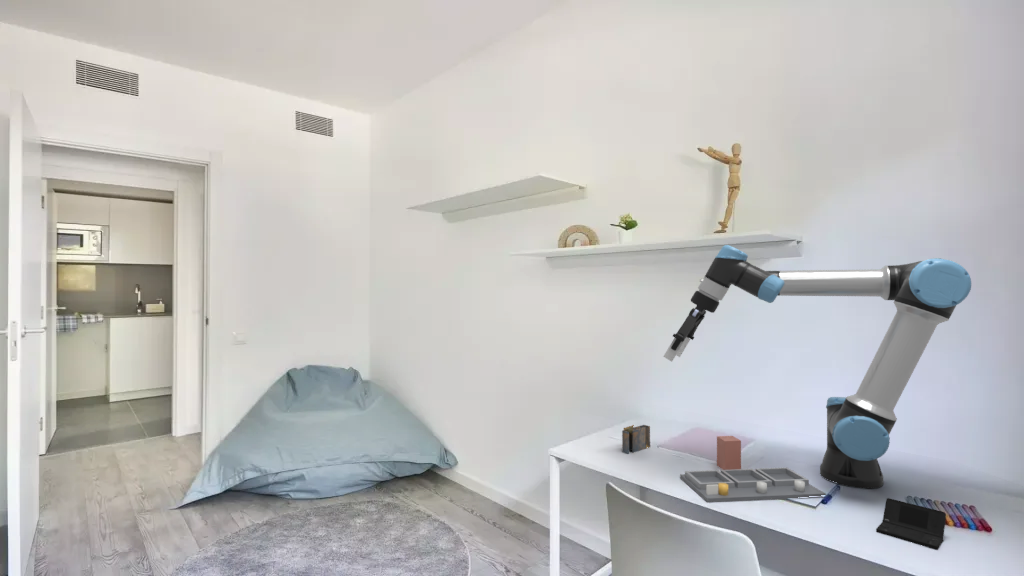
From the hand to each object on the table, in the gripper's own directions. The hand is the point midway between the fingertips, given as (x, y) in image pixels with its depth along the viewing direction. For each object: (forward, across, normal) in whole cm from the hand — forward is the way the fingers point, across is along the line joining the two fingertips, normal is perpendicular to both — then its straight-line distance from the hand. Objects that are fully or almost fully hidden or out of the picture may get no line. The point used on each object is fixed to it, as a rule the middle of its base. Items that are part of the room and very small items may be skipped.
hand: (671, 356), depth 156 cm
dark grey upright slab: (+37, -15, +4) cm, 40 cm away
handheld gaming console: (+4, +18, +65) cm, 67 cm away
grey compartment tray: (+19, +4, +35) cm, 40 cm away
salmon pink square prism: (+22, -10, +30) cm, 38 cm away
